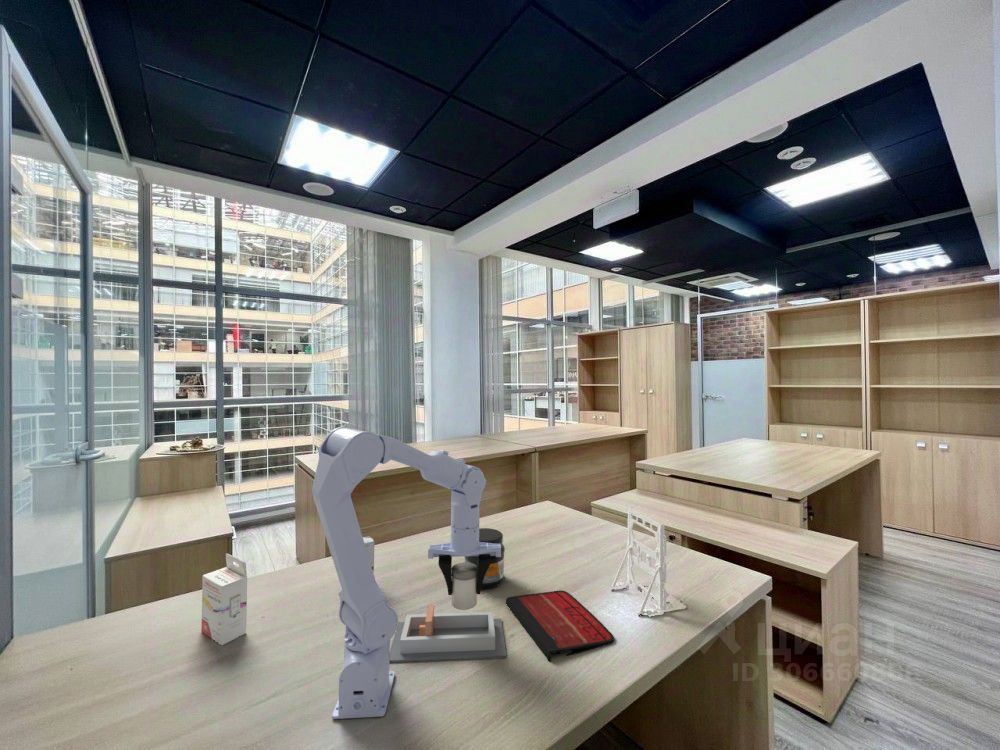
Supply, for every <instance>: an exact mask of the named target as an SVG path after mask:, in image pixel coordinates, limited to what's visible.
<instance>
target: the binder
mask: <svg viewBox="0 0 1000 750" xmlns="http://www.w3.org/2000/svg"><path fill="white" fill-rule="evenodd" d="M506 604H507V605H506ZM505 605H506V607H507V606H508V607H509V608H510V609H509V608H508V607H507V608H508V609H509V610H511V611H512V612H511V611H510V612H511V614H512V615H513V614H514V615H513V616H514V617H515V619H517V621H518V623H519V624H520V625H521V627H522V628H523V630H524V631H525V632H526V633H527V634H528V636H529V638H531V640H533V642H534V643H535V645H536V647H537V648H538V649H539V650H540V651H541V653H542V654H543V656H544V657H545V658H546V660H547V662H551V654H552V653H556V654H562V653H564V652H567V651H570V652H567V653H566V655H565V657H567V656H568V657H570V656H572V655H577V654H581V653H585V652H587V651H593V650H596V649H599V648H602V647H605V646H608V645H612V644H613V643H615V636H614V635H613V633H612V632H611V631H610V630H609V629H608V628H607V627H606V625H604V624H603V623H602V621H600V620H599V619H598V618H597V617H596V616H595V615H594V614H593V613H592V612H591V611H589V609H588V608H586V607H585V606H584V605H583V604H582V603H581V602H580V601H579V600H578V599H576V598H575V597H574V596H573V595H572V594H571V593H570V592H568V591H565V590H554V591H546V592H544V591H543V592H535V593H529V594H521V595H513V596H508V597H506V598H505Z"/></svg>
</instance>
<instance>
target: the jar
mask: <svg viewBox="0 0 1000 750" xmlns="http://www.w3.org/2000/svg"><path fill="white" fill-rule="evenodd" d="M451 572H452V595H451V606H452V607H453V609H456V610H461V611H465V610H466V611H467V610H471V609H473V608H475V606H476V605H477V603H478V602H477V601H478V600H477V599H478V594H477V572H478V568H477V566H476V565H475V564H473V563H468V562H465V561H463V562H458V563H456V564H454V565H452V571H451Z"/></svg>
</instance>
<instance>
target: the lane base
mask: <svg viewBox="0 0 1000 750" xmlns="http://www.w3.org/2000/svg"><path fill="white" fill-rule="evenodd" d="M426 615H427V613H418V614H414V613H413V614H406V617H405V620H404V621H398V624H397V628H396V631H395V633H394V635H393V636H394V637H393V640H392V643H391V646H390V659H389V664H390V663H411V662H412V663H413V662H435V661H438V662H439V661H458V660H479V659H480V660H482V659H483V660H484V659H485V660H486V659H504V658H506V659H507V651H506V645H505V643H506V642H505V637H504V636H505V635H504V629H503V622H502V618H494V612H493V611H479V612H476V611H475V612H473V611H472V612H450V613H447V612H446V613H445V612H443V613H434V631H433V636H419V627H420V625H425V620H426Z"/></svg>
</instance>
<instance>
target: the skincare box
mask: <svg viewBox="0 0 1000 750" xmlns="http://www.w3.org/2000/svg"><path fill="white" fill-rule="evenodd" d="M362 537H363V540H364V543H365V547H366V550H367V554H368V557H369V560H370V564H371V567H372V571H373V574H374V572H375V571H374V570H375V541H374V539H373V538H372V536H362Z"/></svg>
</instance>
